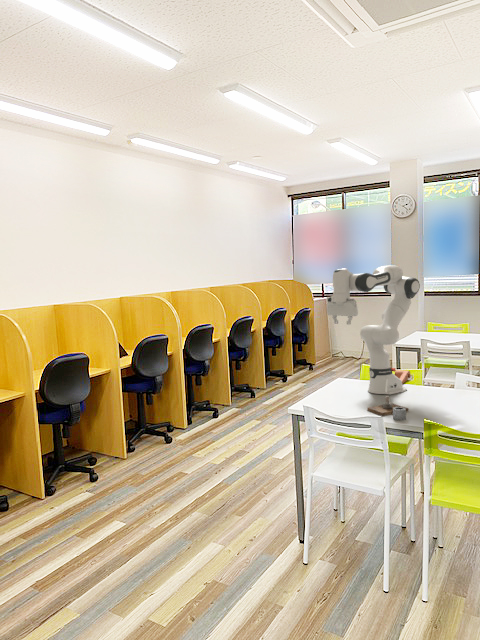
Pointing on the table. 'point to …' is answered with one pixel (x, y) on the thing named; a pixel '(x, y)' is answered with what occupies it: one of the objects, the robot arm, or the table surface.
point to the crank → (403, 375)
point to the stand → (384, 408)
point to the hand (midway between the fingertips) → (342, 324)
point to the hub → (399, 413)
